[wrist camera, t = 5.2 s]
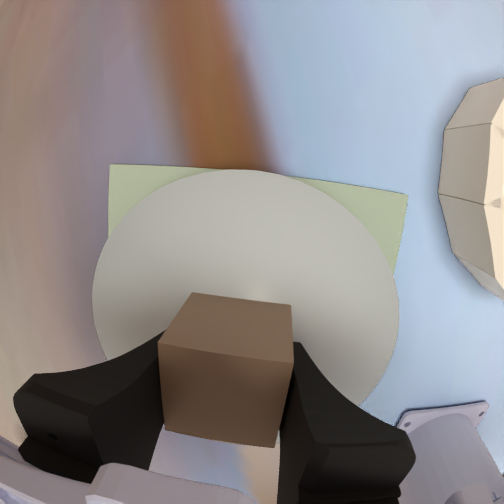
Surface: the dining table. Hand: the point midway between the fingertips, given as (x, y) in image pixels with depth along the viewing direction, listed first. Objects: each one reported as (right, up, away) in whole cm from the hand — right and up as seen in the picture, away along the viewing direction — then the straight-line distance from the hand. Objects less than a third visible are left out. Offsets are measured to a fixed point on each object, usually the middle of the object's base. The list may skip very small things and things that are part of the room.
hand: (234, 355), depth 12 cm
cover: (0, +1, +2) cm, 2 cm away
